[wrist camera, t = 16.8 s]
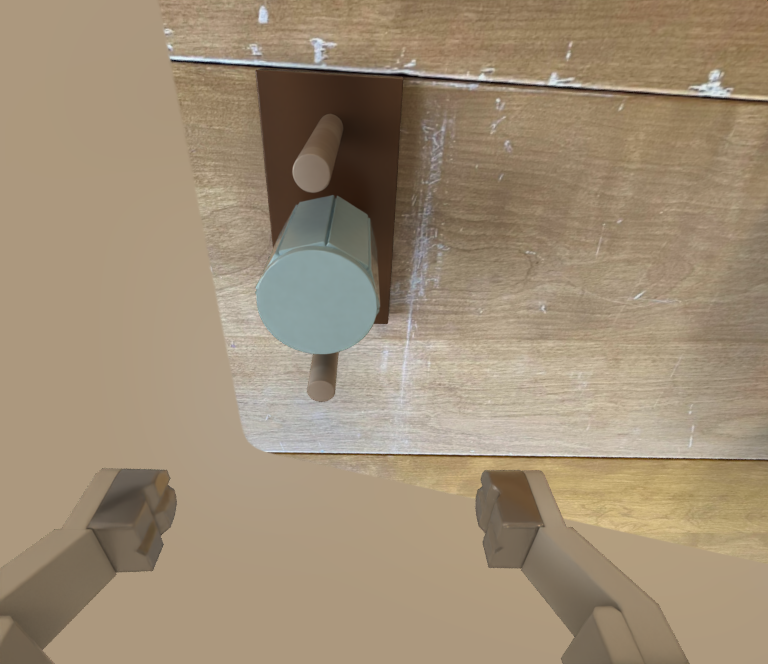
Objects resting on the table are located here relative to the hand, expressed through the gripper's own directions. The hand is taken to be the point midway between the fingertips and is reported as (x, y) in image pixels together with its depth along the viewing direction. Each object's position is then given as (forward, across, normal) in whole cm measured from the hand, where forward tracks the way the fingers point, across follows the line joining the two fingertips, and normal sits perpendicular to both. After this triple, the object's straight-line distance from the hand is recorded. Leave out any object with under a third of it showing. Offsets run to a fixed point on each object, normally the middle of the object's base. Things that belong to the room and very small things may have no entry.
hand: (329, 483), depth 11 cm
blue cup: (+19, +1, +1) cm, 19 cm away
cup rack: (+25, +1, +1) cm, 25 cm away
